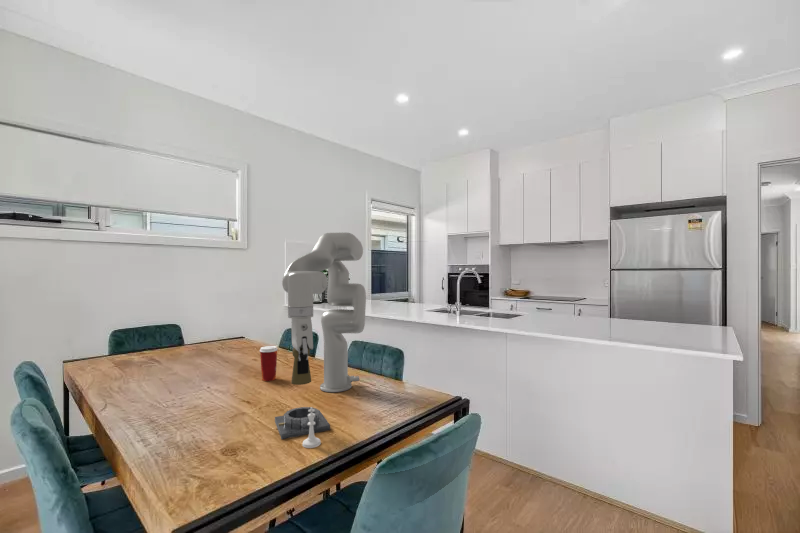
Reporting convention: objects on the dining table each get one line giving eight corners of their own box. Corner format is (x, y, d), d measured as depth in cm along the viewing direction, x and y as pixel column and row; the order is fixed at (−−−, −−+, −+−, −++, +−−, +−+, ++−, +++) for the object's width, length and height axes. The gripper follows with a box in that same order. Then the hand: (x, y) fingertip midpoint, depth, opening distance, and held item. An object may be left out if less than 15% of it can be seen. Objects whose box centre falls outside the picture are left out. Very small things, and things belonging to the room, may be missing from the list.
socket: (318, 414, 127) (318, 402, 127) (330, 430, 114) (330, 417, 114) (274, 421, 121) (274, 409, 121) (281, 439, 108) (281, 425, 108)
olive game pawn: (306, 385, 114) (305, 348, 114) (287, 384, 115) (287, 347, 115) (314, 379, 120) (314, 344, 120) (296, 378, 121) (296, 343, 121)
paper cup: (281, 378, 168) (281, 346, 169) (267, 383, 162) (267, 349, 162) (270, 376, 173) (269, 344, 173) (255, 380, 166) (255, 348, 166)
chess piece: (304, 440, 107) (303, 404, 107) (321, 439, 108) (321, 404, 108) (300, 448, 102) (300, 411, 102) (319, 447, 103) (319, 410, 103)
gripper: (319, 314, 111) (320, 377, 112) (307, 308, 127) (307, 363, 127) (293, 316, 108) (293, 380, 108) (283, 310, 123) (284, 366, 123)
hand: (301, 371), depth 117 cm, fingers closed on olive game pawn, 4 cm apart
